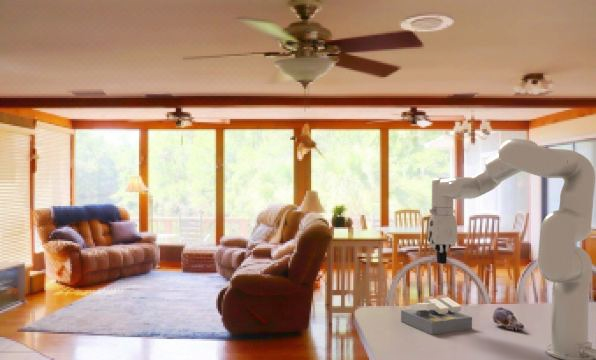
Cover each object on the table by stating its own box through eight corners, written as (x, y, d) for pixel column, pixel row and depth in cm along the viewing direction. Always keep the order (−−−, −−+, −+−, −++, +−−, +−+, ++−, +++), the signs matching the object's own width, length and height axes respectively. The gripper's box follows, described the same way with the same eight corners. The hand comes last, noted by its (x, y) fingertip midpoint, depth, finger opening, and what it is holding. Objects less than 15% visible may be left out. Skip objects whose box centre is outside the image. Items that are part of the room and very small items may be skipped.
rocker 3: (460, 311, 181) (461, 305, 180) (452, 312, 179) (453, 306, 179) (443, 299, 189) (444, 294, 188) (435, 300, 187) (436, 295, 187)
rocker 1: (436, 308, 176) (435, 302, 176) (427, 310, 174) (426, 303, 174) (419, 308, 184) (418, 302, 184) (411, 309, 182) (410, 303, 182)
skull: (529, 332, 174) (529, 314, 173) (509, 334, 172) (509, 315, 172) (507, 322, 185) (507, 305, 185) (488, 324, 184) (488, 306, 184)
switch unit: (472, 328, 177) (472, 312, 177) (431, 334, 170) (432, 318, 170) (439, 316, 193) (439, 301, 193) (401, 321, 186) (401, 306, 186)
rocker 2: (447, 312, 178) (448, 307, 178) (439, 314, 177) (440, 308, 176) (431, 301, 186) (432, 296, 186) (423, 302, 185) (424, 296, 184)
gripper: (432, 213, 180) (431, 266, 180) (465, 212, 186) (465, 263, 186) (418, 211, 187) (418, 262, 187) (451, 210, 193) (451, 260, 193)
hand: (441, 263), depth 187 cm, fingers closed
